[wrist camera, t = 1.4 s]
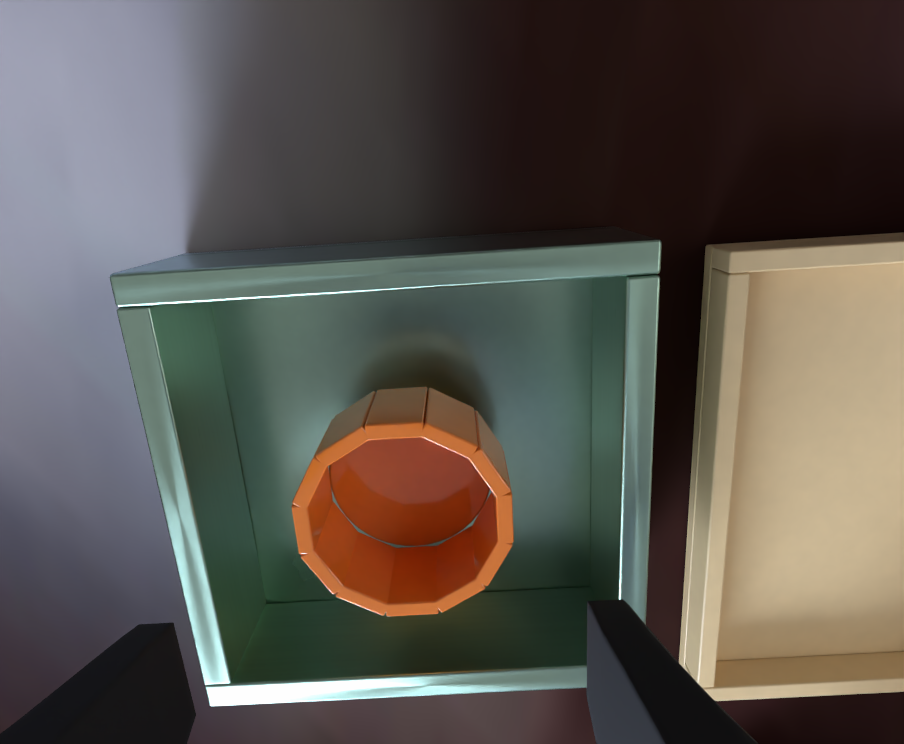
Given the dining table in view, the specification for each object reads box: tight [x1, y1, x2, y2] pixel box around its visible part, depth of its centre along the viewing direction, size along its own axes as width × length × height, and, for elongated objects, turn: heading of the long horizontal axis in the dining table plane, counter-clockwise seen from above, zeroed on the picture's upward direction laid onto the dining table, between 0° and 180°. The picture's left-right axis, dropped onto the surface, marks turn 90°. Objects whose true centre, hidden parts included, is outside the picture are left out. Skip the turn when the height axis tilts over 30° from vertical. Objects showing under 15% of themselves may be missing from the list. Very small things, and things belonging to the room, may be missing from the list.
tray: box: [679, 232, 904, 701], centre depth 19 cm, size 15×10×2 cm
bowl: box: [291, 387, 514, 616], centre depth 17 cm, size 5×5×4 cm
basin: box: [110, 226, 662, 706], centre depth 17 cm, size 13×13×4 cm
